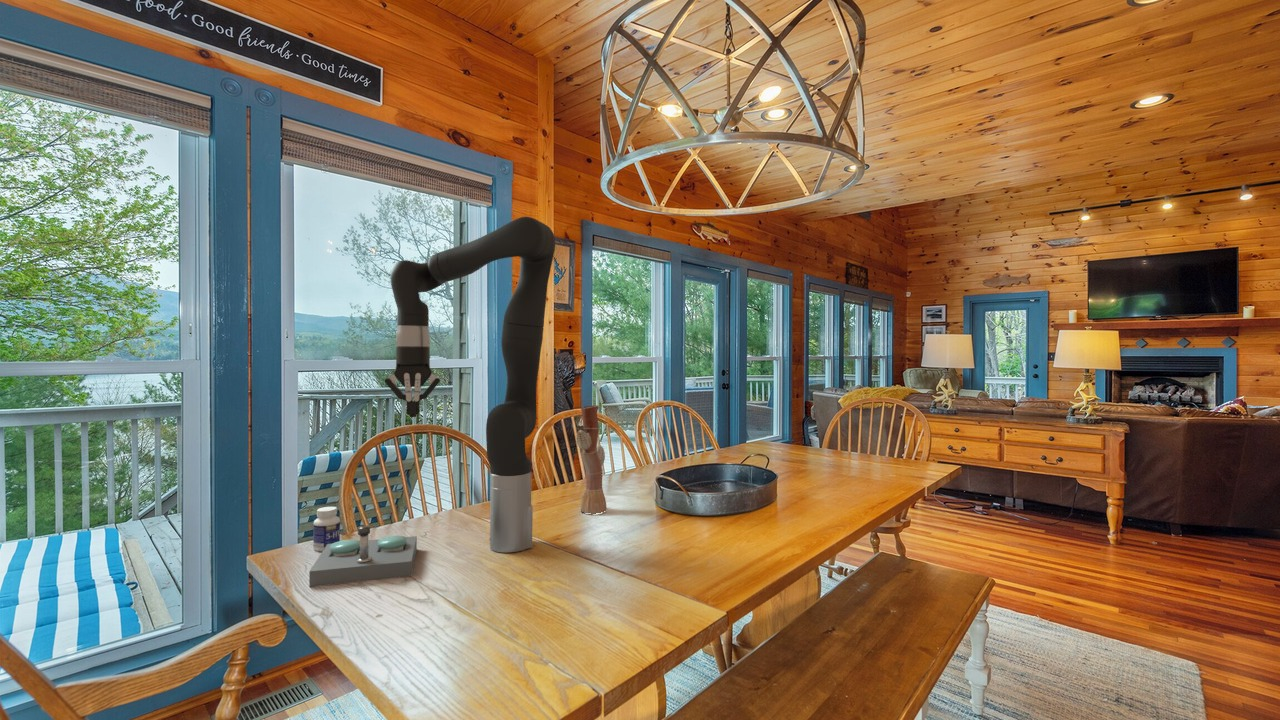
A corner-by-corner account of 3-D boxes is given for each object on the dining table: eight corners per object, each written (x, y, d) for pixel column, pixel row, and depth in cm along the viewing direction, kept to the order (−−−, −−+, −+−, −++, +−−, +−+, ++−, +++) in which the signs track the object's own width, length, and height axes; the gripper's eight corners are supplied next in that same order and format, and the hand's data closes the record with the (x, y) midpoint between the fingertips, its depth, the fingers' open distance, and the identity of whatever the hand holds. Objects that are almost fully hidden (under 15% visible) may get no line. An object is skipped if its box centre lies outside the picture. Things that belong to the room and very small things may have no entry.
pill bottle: (328, 552, 126) (328, 512, 126) (307, 550, 127) (307, 511, 127) (345, 544, 131) (345, 506, 131) (325, 542, 132) (325, 505, 132)
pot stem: (372, 557, 115) (372, 524, 115) (370, 562, 112) (370, 528, 112) (357, 559, 114) (357, 525, 114) (355, 564, 112) (355, 530, 112)
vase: (599, 506, 166) (599, 403, 165) (613, 511, 160) (614, 405, 159) (567, 512, 159) (568, 405, 159) (581, 518, 153) (582, 407, 153)
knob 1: (362, 559, 122) (362, 538, 122) (358, 568, 117) (358, 547, 117) (333, 562, 121) (333, 541, 120) (327, 571, 115) (327, 549, 115)
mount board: (416, 549, 129) (416, 536, 129) (411, 576, 113) (411, 561, 113) (327, 557, 123) (327, 543, 123) (309, 587, 108) (309, 571, 108)
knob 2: (407, 554, 125) (407, 534, 125) (405, 564, 120) (405, 542, 120) (379, 557, 123) (379, 537, 123) (376, 567, 118) (376, 545, 118)
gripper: (442, 345, 142) (442, 414, 143) (385, 344, 138) (385, 415, 139) (441, 345, 135) (441, 417, 136) (381, 344, 131) (381, 419, 132)
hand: (412, 416), depth 137 cm, fingers closed
